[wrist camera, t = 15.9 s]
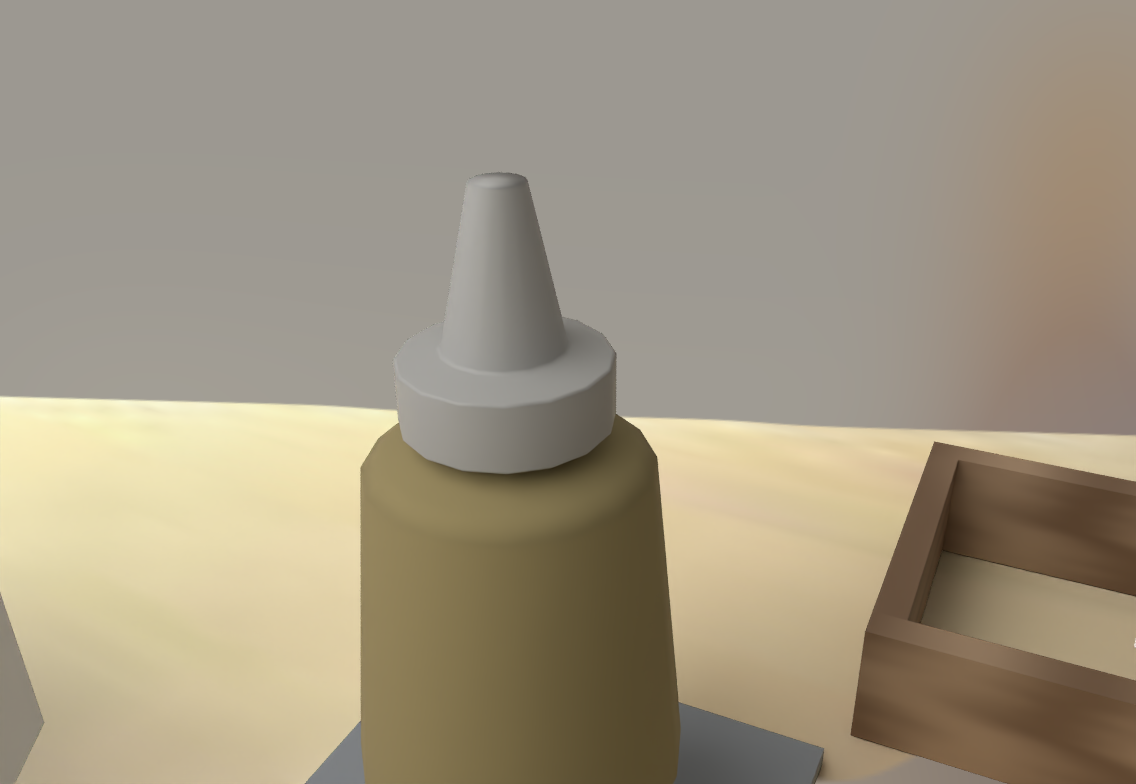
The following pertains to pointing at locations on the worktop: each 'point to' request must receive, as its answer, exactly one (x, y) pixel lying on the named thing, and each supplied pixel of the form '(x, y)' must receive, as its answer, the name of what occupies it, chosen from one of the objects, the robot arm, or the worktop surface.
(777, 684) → the worktop surface
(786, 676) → the worktop surface
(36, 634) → the worktop surface
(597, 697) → the squeeze bottle
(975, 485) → the holder
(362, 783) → the mat
